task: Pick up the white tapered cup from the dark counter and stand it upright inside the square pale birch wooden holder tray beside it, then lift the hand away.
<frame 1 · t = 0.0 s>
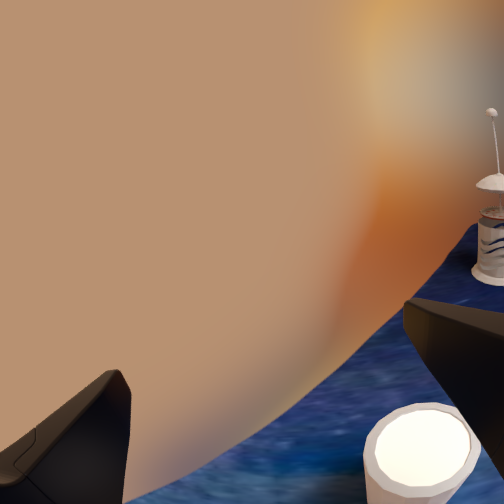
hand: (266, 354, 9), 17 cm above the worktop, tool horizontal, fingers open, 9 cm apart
french press: (502, 273, 38), on the worktop
white tapered cup: (406, 498, 15), on the worktop
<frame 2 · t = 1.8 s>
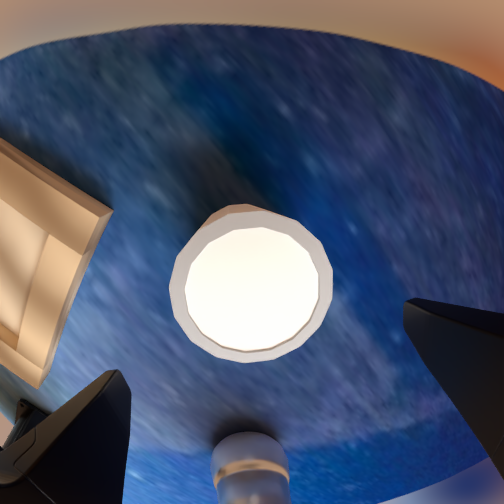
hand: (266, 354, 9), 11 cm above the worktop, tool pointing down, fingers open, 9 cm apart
white tapered cup: (241, 248, 20), on the worktop
plastic bottle: (246, 443, 25), on the worktop
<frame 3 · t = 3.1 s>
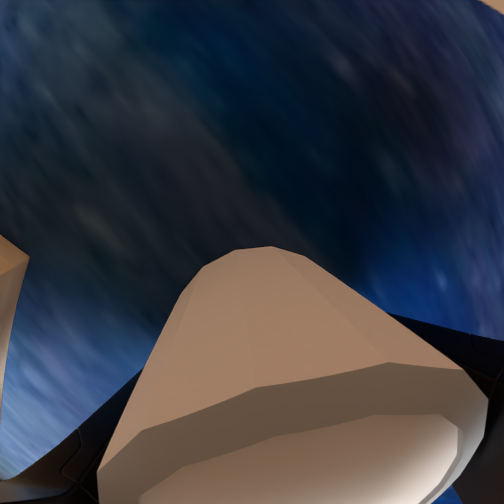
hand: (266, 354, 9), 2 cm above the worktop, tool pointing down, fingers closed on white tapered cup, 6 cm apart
white tapered cup: (258, 326, 10), on the worktop, touching gripper
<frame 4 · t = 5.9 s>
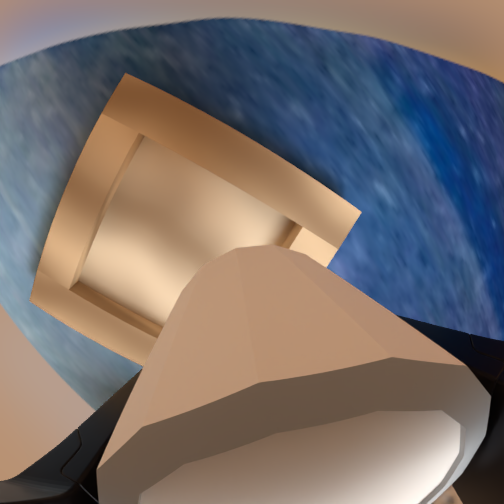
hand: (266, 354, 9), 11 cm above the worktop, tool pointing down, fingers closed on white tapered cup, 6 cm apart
holder tray: (180, 247, 19), on the worktop
white tapered cup: (259, 324, 10), point 10 cm above the worktop, touching gripper
plastic bottle: (396, 415, 26), on the worktop
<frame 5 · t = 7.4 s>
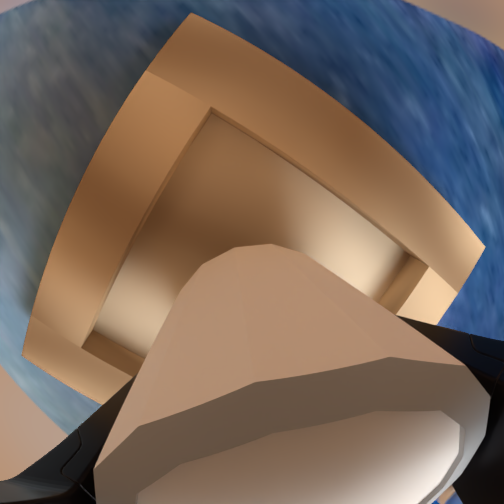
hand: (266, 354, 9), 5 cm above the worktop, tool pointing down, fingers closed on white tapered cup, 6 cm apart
holder tray: (250, 287, 13), on the worktop
white tapered cup: (258, 324, 10), point 3 cm above the worktop, touching gripper
when the fingers open (3 cm above the worktop, at t = 8.6 s): white tapered cup stays where it is, resting on holder tray.
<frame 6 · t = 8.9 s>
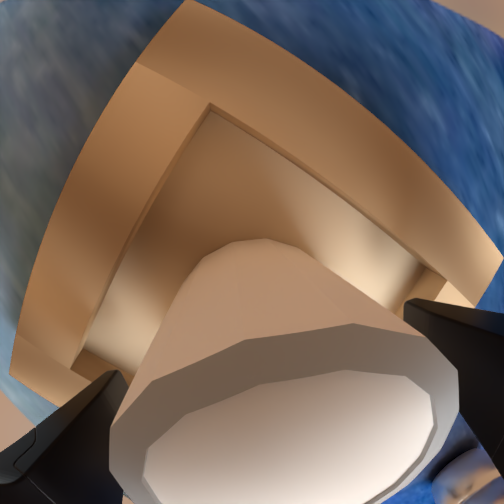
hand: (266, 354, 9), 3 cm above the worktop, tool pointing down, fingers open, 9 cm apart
holder tray: (253, 303, 12), on the worktop
white tapered cup: (255, 312, 11), point 1 cm above the worktop, touching holder tray
plastic bottle: (452, 462, 19), on the worktop
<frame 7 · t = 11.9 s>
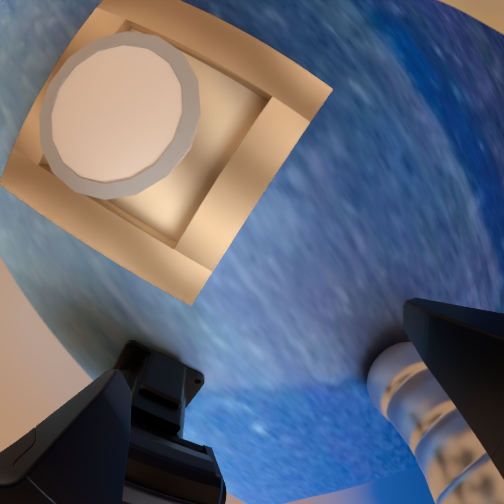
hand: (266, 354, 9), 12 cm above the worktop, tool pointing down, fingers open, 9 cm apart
holder tray: (153, 130, 18), on the worktop
white tapered cup: (150, 129, 17), point 1 cm above the worktop, touching holder tray
plastic bottle: (391, 363, 25), on the worktop
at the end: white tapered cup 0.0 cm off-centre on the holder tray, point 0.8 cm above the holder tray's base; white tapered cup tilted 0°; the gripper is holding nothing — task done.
